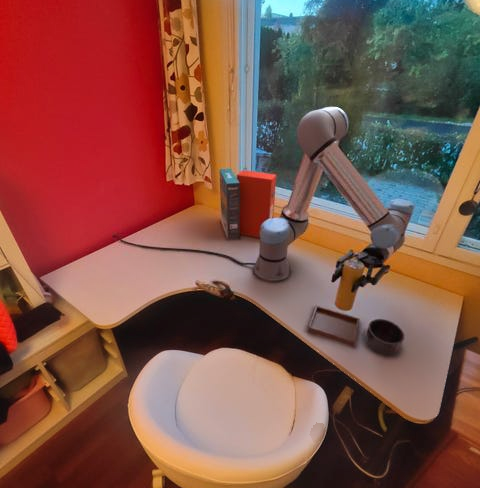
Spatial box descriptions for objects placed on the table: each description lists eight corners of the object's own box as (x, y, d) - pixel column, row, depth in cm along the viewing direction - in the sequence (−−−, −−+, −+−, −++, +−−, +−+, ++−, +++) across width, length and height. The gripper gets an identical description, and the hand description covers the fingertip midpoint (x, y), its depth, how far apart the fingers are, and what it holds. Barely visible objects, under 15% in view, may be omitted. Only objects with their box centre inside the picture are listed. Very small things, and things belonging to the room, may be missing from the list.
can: (332, 307, 91) (343, 266, 82) (336, 297, 96) (346, 256, 86) (351, 313, 89) (364, 271, 80) (353, 302, 94) (365, 261, 84)
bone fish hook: (242, 292, 114) (205, 278, 121) (242, 283, 112) (204, 269, 119) (230, 306, 107) (191, 290, 114) (230, 296, 105) (191, 280, 112)
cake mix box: (239, 238, 149) (239, 182, 132) (227, 239, 148) (226, 183, 131) (231, 220, 166) (230, 168, 150) (221, 220, 165) (219, 169, 149)
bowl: (363, 348, 91) (367, 337, 88) (366, 326, 99) (370, 315, 96) (398, 361, 88) (404, 349, 85) (399, 336, 96) (404, 325, 93)
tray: (307, 331, 97) (308, 327, 96) (315, 309, 106) (316, 305, 105) (354, 347, 92) (355, 342, 91) (358, 322, 101) (359, 318, 99)
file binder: (267, 239, 148) (271, 179, 130) (236, 233, 153) (236, 174, 135) (272, 232, 154) (276, 174, 136) (242, 226, 159) (243, 169, 141)
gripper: (402, 273, 93) (370, 309, 79) (349, 251, 104) (313, 279, 90) (409, 254, 89) (378, 288, 75) (353, 233, 100) (317, 259, 86)
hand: (342, 283), depth 83 cm, fingers closed on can, 6 cm apart
